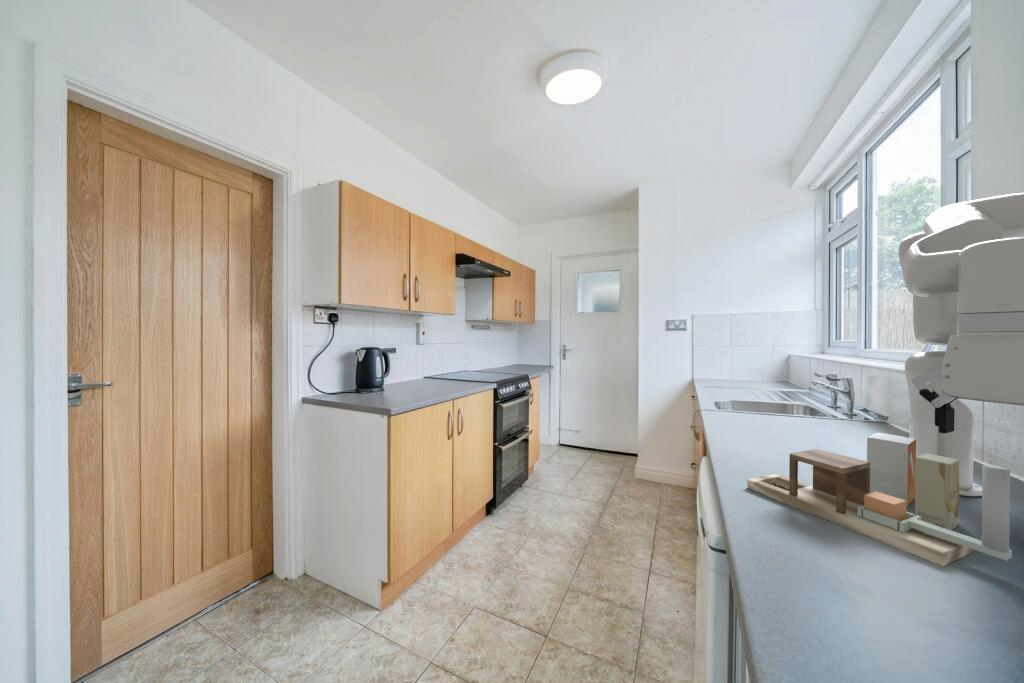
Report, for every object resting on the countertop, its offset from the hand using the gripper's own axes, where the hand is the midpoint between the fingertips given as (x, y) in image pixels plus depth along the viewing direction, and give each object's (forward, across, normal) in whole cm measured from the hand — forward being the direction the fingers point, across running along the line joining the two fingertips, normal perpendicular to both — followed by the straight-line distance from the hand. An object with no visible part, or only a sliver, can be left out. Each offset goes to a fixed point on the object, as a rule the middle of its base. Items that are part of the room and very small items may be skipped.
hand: (995, 440), depth 52 cm
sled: (+17, +6, +1) cm, 18 cm away
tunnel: (+18, +20, +1) cm, 27 cm away
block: (+18, +12, +1) cm, 21 cm away
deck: (+20, +18, +1) cm, 27 cm away
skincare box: (+20, +10, -12) cm, 25 cm away
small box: (+20, +18, -19) cm, 33 cm away
